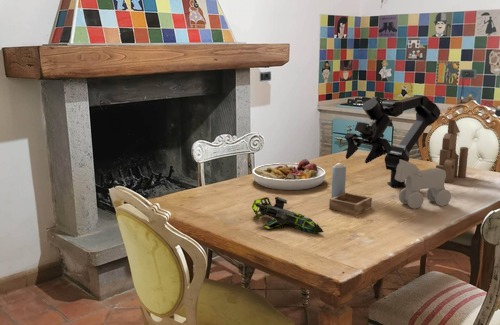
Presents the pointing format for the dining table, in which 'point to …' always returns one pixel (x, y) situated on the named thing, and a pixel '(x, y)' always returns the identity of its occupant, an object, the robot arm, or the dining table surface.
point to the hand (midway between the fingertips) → (355, 160)
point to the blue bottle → (338, 179)
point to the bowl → (289, 175)
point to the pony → (421, 185)
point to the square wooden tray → (350, 203)
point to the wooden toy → (452, 154)
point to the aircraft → (284, 216)
